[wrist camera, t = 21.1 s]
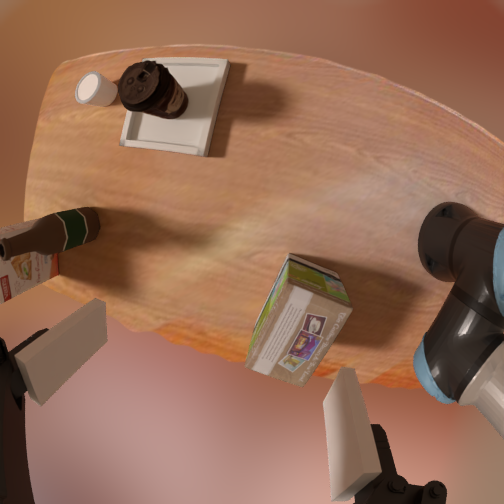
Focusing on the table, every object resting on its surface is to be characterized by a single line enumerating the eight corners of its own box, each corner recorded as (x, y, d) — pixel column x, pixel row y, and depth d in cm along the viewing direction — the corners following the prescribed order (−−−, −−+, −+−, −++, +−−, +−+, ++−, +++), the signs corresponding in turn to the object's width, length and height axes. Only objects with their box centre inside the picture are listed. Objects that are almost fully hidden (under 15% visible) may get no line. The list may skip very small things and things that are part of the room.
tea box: (286, 250, 47) (286, 280, 33) (338, 272, 47) (357, 308, 32) (254, 321, 51) (242, 369, 37) (302, 339, 51) (305, 390, 36)
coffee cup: (193, 77, 40) (164, 47, 28) (199, 117, 42) (169, 96, 29) (150, 91, 41) (112, 69, 29) (154, 130, 43) (114, 117, 31)
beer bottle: (102, 209, 49) (11, 230, 26) (100, 245, 51) (15, 281, 28) (77, 203, 50) (-10, 221, 27) (75, 237, 52) (-7, 267, 29)
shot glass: (90, 106, 44) (69, 100, 37) (103, 77, 42) (84, 69, 36) (110, 112, 44) (90, 106, 37) (125, 83, 42) (106, 73, 36)
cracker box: (60, 275, 55) (0, 306, 35) (46, 270, 55) (-12, 297, 35) (58, 219, 51) (-11, 237, 31) (43, 216, 52) (-21, 233, 32)
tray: (230, 64, 40) (227, 59, 37) (207, 157, 44) (203, 155, 42) (148, 62, 41) (143, 58, 38) (126, 146, 46) (119, 145, 43)
